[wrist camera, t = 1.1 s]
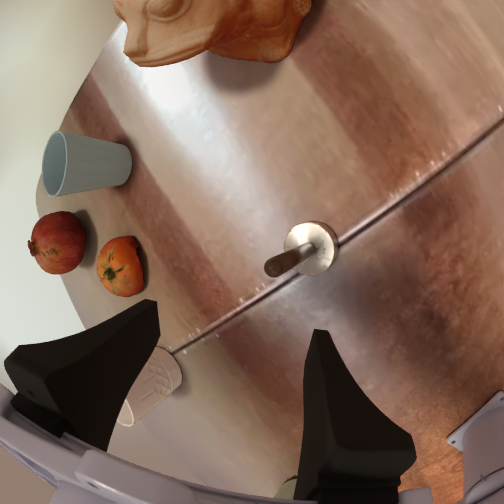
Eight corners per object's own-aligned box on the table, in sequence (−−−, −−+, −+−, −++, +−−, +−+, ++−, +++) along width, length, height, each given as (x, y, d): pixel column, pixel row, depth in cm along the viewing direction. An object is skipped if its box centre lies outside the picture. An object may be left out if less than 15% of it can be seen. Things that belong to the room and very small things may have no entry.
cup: (144, 141, 33) (71, 134, 24) (131, 200, 36) (60, 206, 27) (112, 133, 36) (48, 127, 27) (101, 185, 39) (38, 188, 30)
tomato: (126, 313, 38) (80, 289, 33) (130, 276, 43) (90, 253, 38) (159, 282, 35) (109, 253, 31) (161, 245, 40) (119, 217, 36)
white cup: (172, 399, 39) (124, 433, 30) (139, 359, 41) (88, 386, 32) (195, 376, 36) (140, 415, 27) (156, 331, 38) (97, 360, 29)
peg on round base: (347, 239, 24) (319, 261, 16) (321, 281, 26) (281, 318, 18) (305, 211, 26) (257, 218, 18) (281, 252, 27) (227, 276, 19)
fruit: (98, 211, 40) (39, 218, 31) (99, 275, 42) (44, 290, 34) (67, 205, 44) (18, 210, 36) (68, 260, 47) (22, 270, 38)
